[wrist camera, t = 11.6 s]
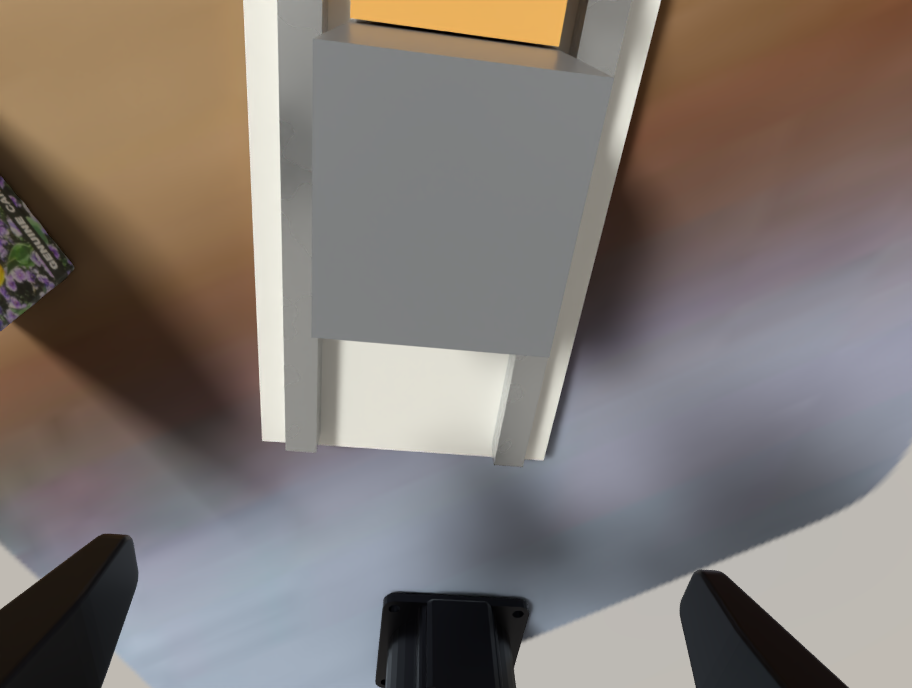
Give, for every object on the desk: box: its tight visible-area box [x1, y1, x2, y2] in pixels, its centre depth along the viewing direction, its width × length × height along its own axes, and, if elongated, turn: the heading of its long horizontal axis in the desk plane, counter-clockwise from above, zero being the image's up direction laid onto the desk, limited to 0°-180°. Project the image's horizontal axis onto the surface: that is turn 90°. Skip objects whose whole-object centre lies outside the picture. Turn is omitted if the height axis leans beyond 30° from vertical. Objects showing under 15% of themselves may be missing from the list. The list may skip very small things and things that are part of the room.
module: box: [311, 19, 614, 358], centre depth 13 cm, size 5×4×7 cm
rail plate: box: [243, 0, 661, 467], centre depth 17 cm, size 16×10×4 cm, turn 173°
